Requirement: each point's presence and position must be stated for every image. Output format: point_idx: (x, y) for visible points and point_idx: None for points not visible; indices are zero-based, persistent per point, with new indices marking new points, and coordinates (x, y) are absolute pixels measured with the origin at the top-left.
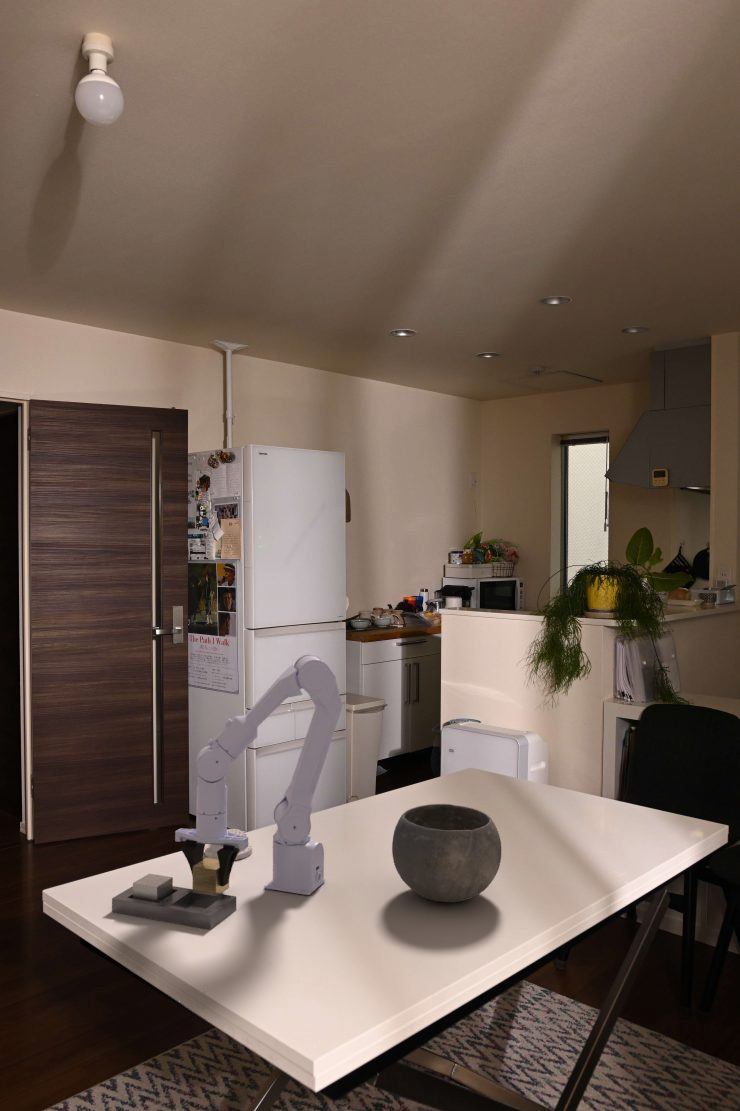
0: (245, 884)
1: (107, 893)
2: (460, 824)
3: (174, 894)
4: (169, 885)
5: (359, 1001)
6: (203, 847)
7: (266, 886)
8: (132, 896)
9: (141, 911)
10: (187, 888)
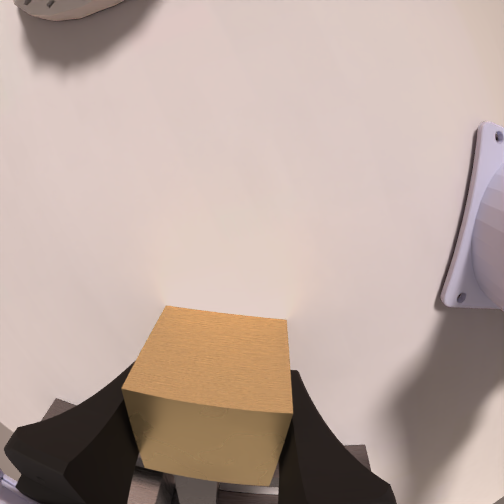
0: (351, 270)
1: (7, 392)
2: None
3: (184, 489)
4: (159, 500)
5: (497, 493)
6: (93, 454)
7: (452, 305)
8: None
9: None
10: None
